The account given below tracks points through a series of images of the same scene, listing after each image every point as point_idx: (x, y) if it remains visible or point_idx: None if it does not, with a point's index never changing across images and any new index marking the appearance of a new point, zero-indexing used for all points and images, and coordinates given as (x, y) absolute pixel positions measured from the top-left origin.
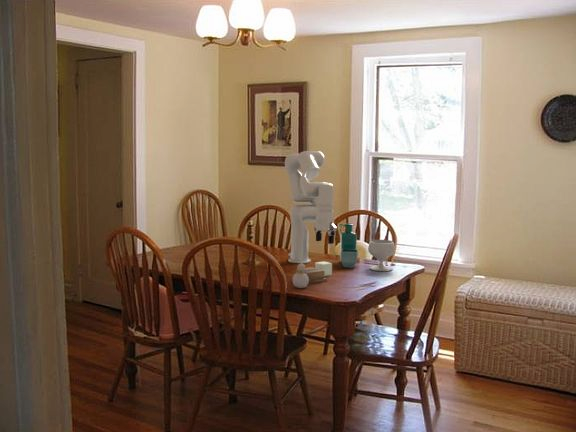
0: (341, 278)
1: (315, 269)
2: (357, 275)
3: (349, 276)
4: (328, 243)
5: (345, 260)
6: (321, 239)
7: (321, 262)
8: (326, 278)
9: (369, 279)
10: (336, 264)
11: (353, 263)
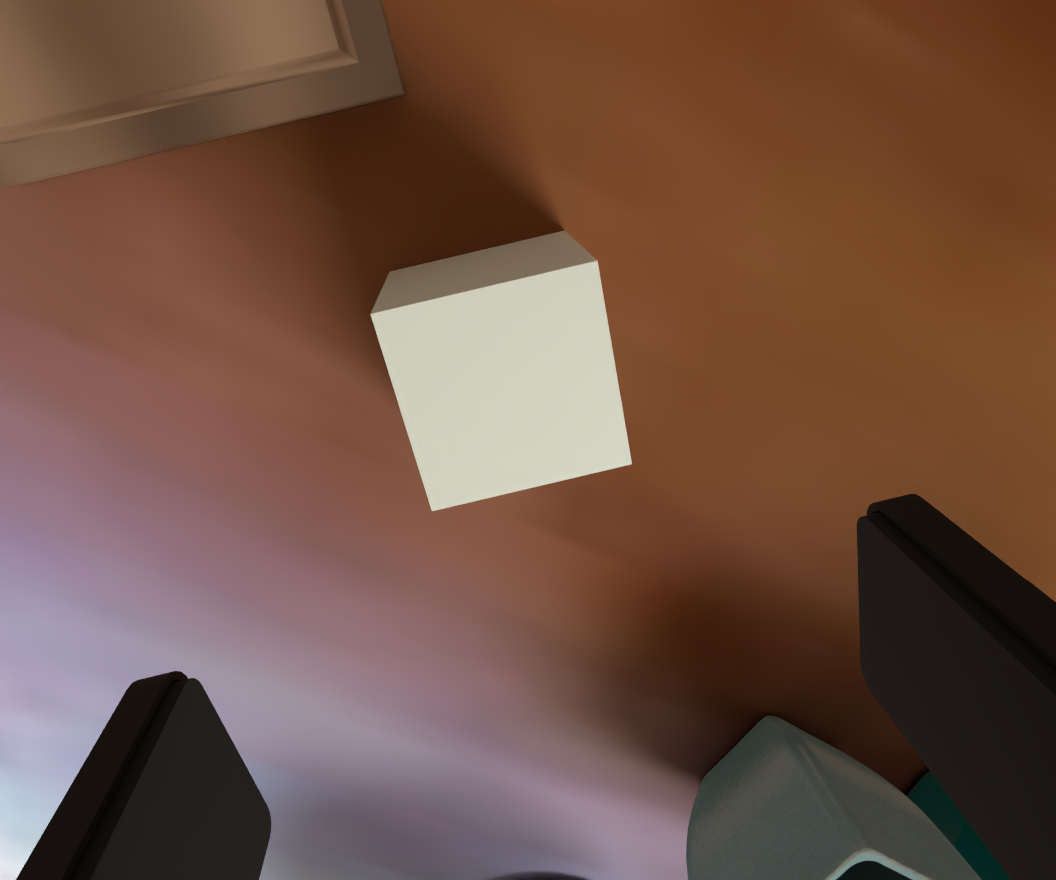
0: (185, 458)
1: (72, 8)
2: (319, 687)
3: (286, 591)
4: (161, 674)
5: (765, 785)
6: (884, 706)
7: (560, 374)
8: (10, 180)
9: (78, 721)
10: None
11: (696, 820)
